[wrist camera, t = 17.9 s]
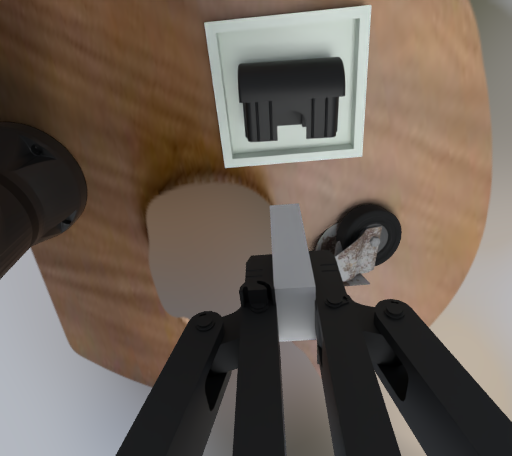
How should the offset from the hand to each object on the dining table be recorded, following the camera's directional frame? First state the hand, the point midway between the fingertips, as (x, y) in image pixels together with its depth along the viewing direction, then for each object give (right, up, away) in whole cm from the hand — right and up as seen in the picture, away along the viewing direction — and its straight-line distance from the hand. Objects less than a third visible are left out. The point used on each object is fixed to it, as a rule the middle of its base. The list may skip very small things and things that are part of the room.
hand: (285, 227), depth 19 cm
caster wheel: (+12, 0, +31) cm, 34 cm away
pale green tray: (+2, +17, +20) cm, 27 cm away
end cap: (+2, +15, +21) cm, 26 cm away
